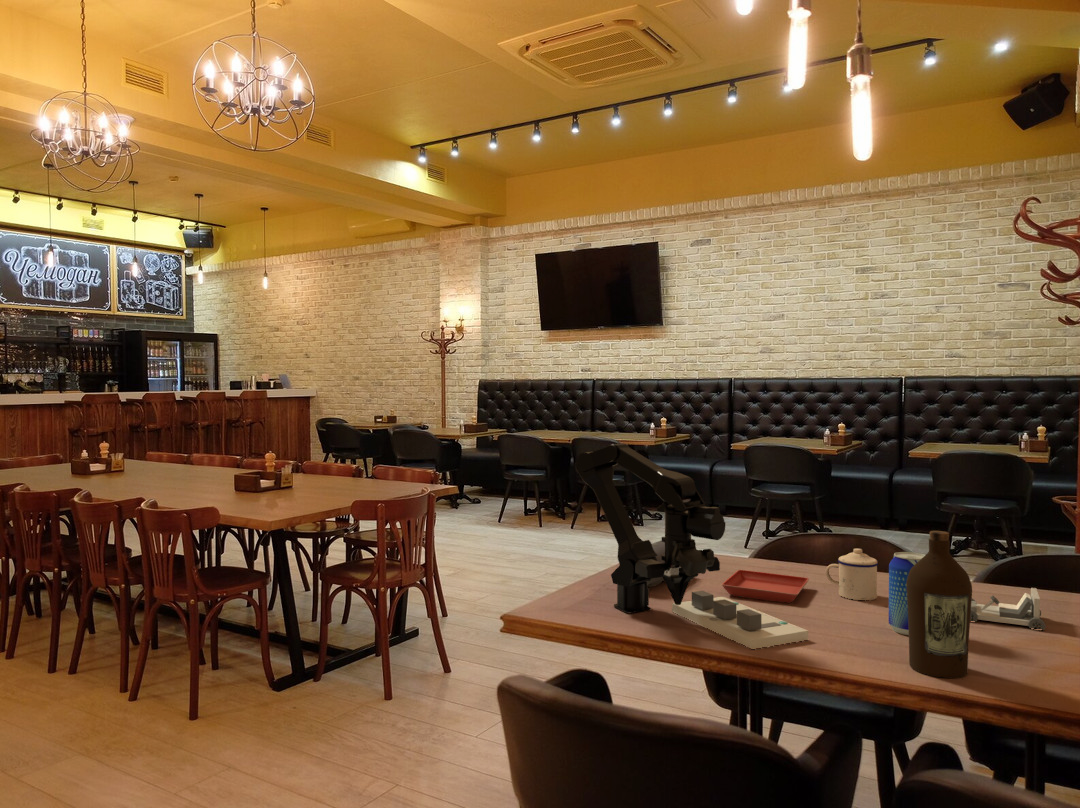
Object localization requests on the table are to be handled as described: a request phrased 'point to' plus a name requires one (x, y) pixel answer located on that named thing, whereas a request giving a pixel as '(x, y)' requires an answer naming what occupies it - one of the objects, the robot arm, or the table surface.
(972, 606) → the toy car
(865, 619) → the table surface
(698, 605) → the grey block
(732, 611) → the dark grey box
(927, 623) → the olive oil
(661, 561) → the bluetooth speaker
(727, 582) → the plant saucer
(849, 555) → the teacup with lid
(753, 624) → the dark grey block
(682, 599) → the robot arm
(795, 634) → the switch board
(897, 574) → the beer can
